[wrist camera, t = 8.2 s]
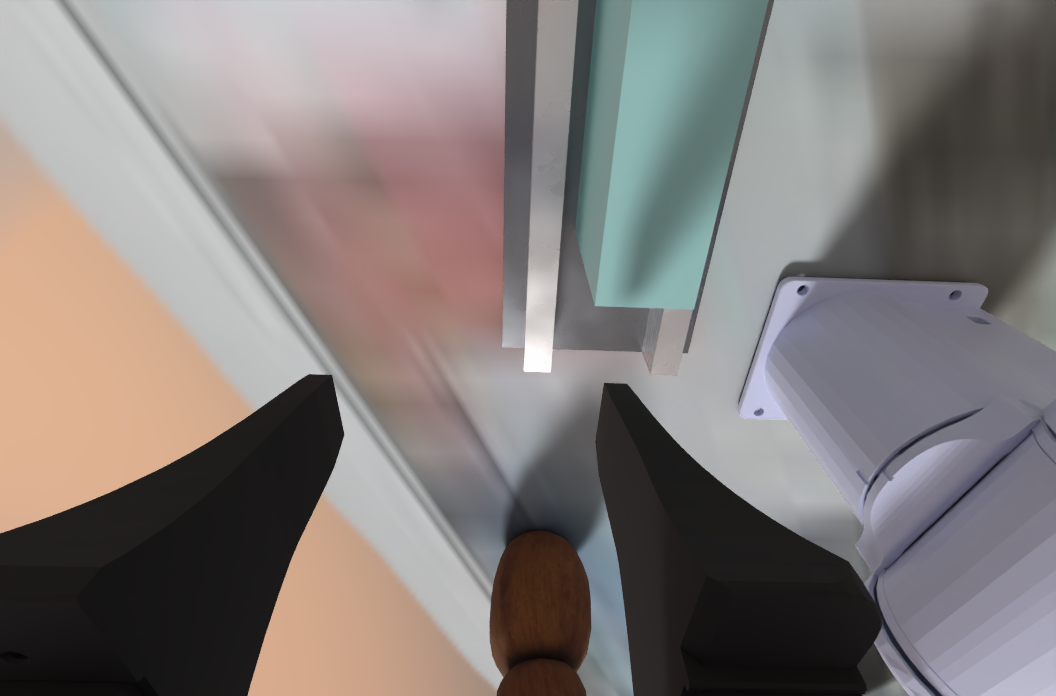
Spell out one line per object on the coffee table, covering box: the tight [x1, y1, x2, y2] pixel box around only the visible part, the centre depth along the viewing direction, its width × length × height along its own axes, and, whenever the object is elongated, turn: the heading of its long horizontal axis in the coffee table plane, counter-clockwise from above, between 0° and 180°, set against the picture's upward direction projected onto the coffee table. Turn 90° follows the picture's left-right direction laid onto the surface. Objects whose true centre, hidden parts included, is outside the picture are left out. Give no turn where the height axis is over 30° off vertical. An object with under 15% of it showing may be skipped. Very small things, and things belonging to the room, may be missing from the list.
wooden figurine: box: [490, 530, 591, 696], centre depth 26 cm, size 7×6×15 cm
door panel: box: [575, 0, 769, 310], centre depth 15 cm, size 3×9×7 cm, turn 178°
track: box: [502, 0, 774, 376], centre depth 17 cm, size 9×22×3 cm, turn 178°
